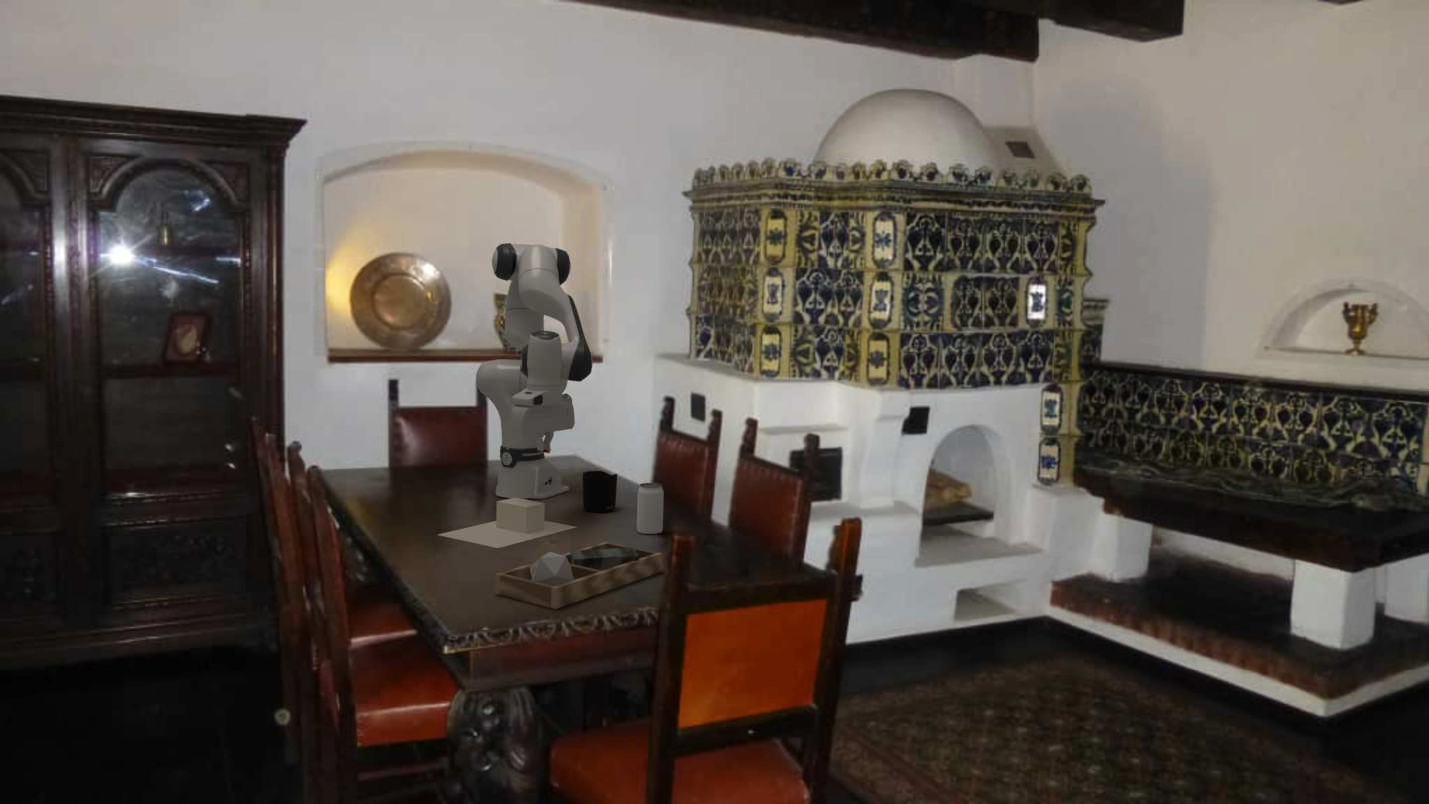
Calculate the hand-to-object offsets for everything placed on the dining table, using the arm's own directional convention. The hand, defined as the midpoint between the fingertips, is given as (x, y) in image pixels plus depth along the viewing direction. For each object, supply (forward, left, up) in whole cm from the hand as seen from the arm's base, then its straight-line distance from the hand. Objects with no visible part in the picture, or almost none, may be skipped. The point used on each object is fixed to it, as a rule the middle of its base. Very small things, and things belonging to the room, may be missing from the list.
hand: (543, 450), depth 272 cm
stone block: (+27, +42, -19) cm, 53 cm away
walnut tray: (+34, +42, -19) cm, 57 cm away
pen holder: (-23, 0, -19) cm, 30 cm away
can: (-11, +26, -19) cm, 34 cm away
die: (+44, +42, -19) cm, 64 cm away
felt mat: (+12, 0, -19) cm, 23 cm away
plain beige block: (+8, 0, -19) cm, 20 cm away
